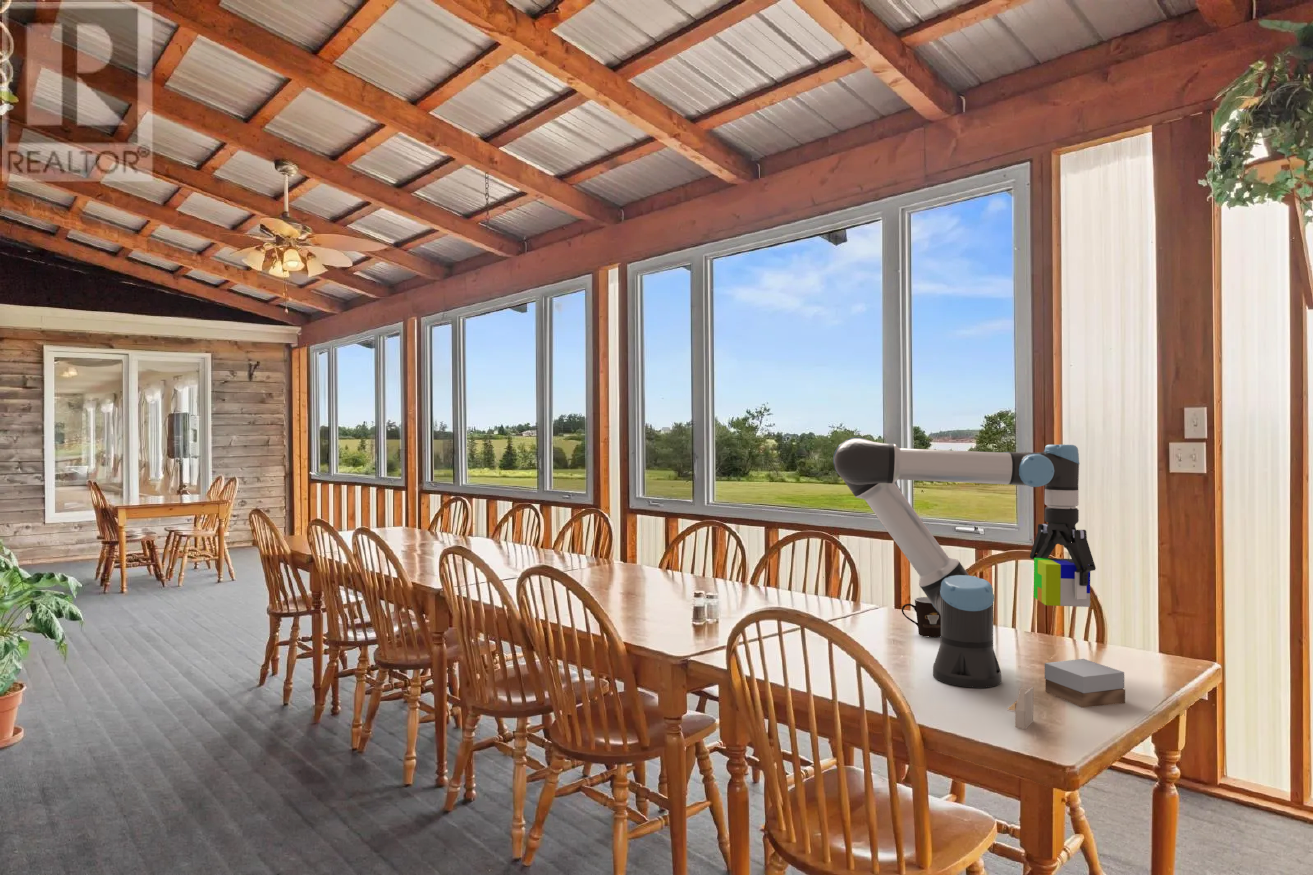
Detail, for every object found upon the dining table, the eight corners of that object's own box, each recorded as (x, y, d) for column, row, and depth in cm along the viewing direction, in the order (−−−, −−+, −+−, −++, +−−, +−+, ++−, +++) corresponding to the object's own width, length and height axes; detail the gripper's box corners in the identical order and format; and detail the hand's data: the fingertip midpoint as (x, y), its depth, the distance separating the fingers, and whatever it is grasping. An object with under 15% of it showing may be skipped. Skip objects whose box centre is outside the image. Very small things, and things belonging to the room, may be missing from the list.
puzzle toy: (1090, 606, 195) (1090, 565, 195) (1045, 605, 197) (1046, 564, 197) (1075, 598, 205) (1076, 558, 205) (1033, 597, 207) (1033, 557, 207)
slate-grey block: (1083, 693, 172) (1083, 676, 172) (1044, 678, 183) (1044, 663, 183) (1124, 688, 176) (1124, 672, 176) (1083, 674, 186) (1083, 658, 186)
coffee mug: (949, 633, 235) (949, 599, 235) (942, 639, 228) (942, 604, 228) (908, 628, 242) (908, 594, 241) (900, 634, 234) (900, 599, 234)
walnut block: (1081, 710, 172) (1081, 693, 172) (1045, 693, 183) (1045, 678, 183) (1125, 705, 175) (1125, 689, 175) (1086, 689, 186) (1086, 674, 186)
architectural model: (1007, 727, 162) (1007, 690, 162) (1017, 718, 167) (1017, 682, 167) (1025, 731, 160) (1025, 694, 160) (1035, 722, 165) (1035, 685, 165)
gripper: (1113, 511, 190) (1112, 603, 190) (1039, 502, 213) (1039, 583, 214) (1086, 512, 188) (1085, 604, 188) (1015, 502, 212) (1014, 585, 212)
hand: (1061, 593), depth 201 cm, fingers closed on puzzle toy, 12 cm apart
